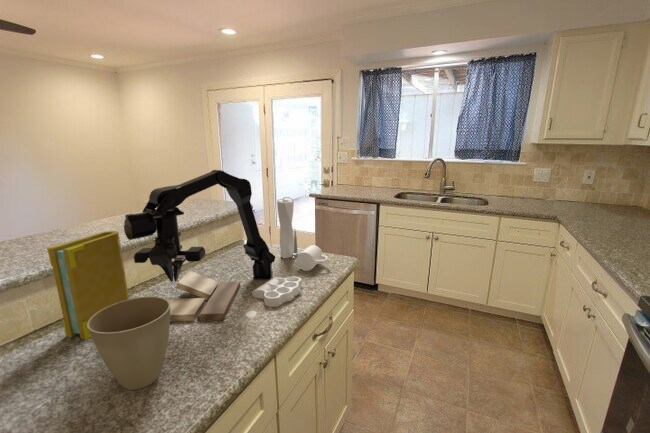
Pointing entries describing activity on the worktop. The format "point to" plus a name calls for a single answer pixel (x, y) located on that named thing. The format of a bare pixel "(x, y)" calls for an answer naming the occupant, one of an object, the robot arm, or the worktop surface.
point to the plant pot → (132, 339)
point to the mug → (310, 258)
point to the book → (88, 278)
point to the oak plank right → (197, 285)
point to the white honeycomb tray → (278, 290)
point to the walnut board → (220, 301)
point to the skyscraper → (286, 228)
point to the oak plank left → (186, 308)
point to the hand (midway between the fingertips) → (174, 281)
